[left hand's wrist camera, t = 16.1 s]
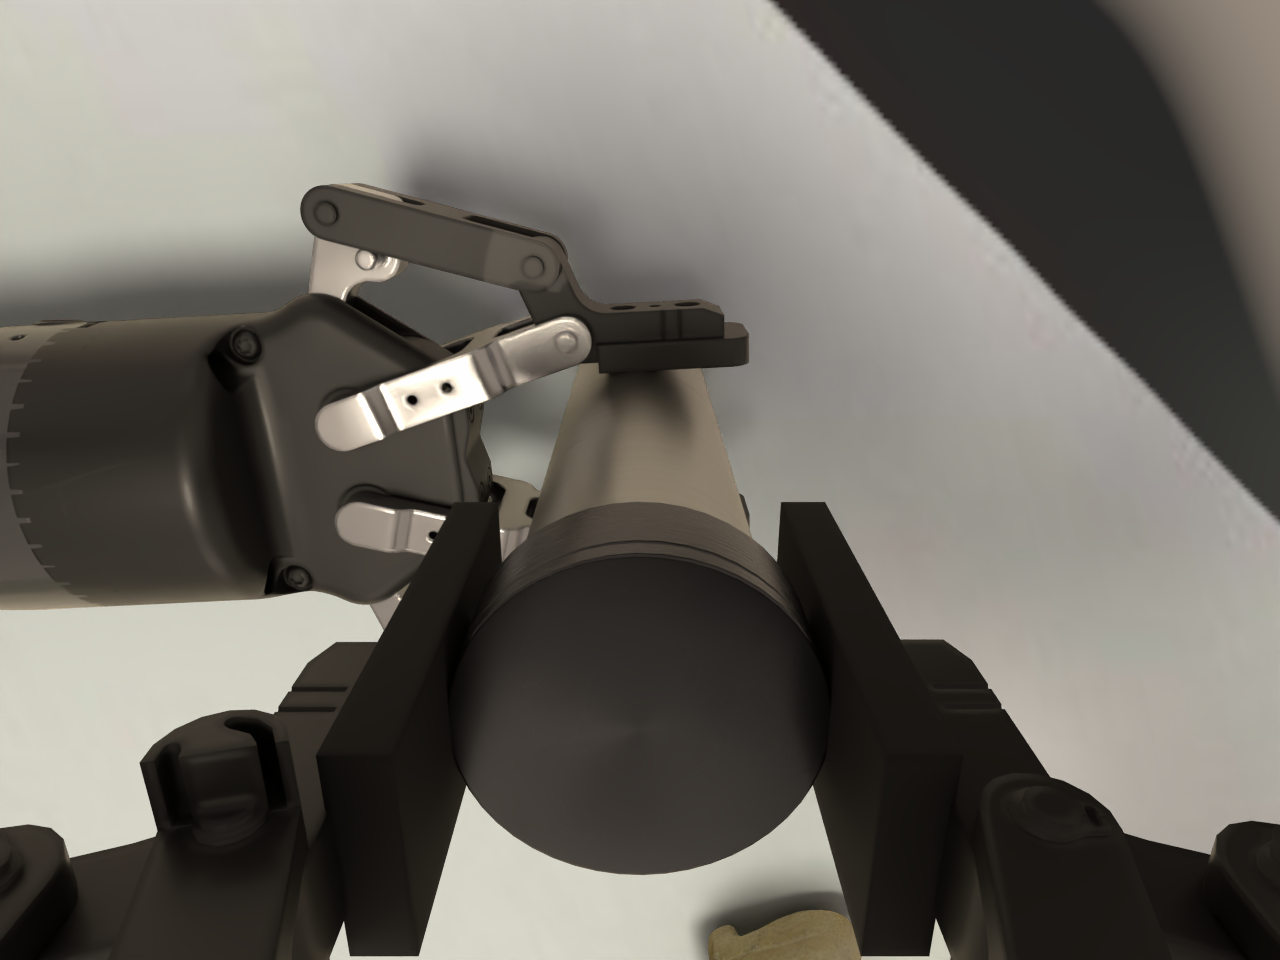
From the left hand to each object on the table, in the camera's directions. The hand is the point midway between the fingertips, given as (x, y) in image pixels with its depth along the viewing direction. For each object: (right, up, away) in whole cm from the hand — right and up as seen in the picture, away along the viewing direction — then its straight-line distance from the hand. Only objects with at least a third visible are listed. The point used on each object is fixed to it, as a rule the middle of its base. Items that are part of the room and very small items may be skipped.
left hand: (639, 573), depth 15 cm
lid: (0, -1, -4) cm, 4 cm away
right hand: (+3, +3, +7) cm, 8 cm away
